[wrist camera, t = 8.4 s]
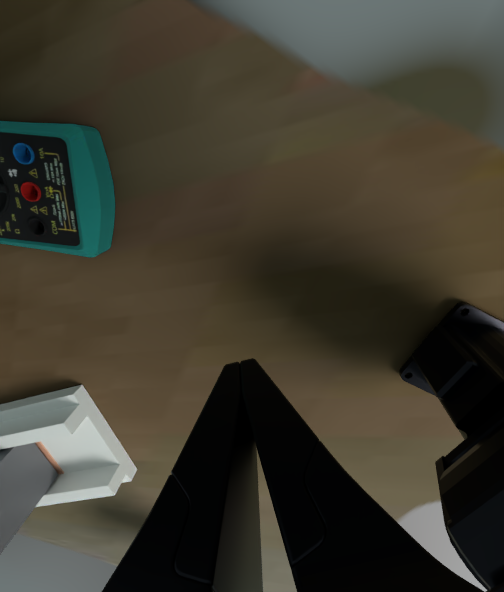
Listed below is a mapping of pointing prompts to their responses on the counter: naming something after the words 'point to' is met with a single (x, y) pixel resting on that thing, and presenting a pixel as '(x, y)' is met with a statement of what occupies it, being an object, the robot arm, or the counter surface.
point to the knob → (21, 486)
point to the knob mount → (68, 443)
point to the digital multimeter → (55, 188)
